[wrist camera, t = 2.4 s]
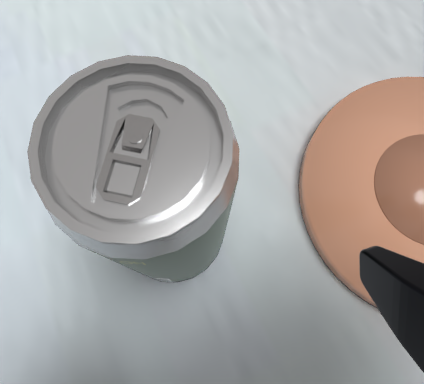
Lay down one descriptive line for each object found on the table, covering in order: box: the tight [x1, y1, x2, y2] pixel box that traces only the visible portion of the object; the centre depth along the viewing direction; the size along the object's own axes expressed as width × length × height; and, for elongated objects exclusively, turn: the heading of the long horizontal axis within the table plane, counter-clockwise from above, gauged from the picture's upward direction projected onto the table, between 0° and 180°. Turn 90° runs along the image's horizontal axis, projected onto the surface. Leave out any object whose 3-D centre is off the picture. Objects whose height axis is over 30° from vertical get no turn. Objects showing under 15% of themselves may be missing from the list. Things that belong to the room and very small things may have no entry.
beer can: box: [28, 55, 239, 282], centre depth 15 cm, size 5×5×12 cm
